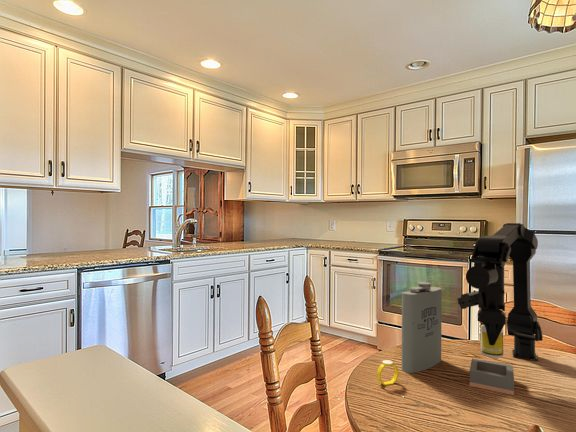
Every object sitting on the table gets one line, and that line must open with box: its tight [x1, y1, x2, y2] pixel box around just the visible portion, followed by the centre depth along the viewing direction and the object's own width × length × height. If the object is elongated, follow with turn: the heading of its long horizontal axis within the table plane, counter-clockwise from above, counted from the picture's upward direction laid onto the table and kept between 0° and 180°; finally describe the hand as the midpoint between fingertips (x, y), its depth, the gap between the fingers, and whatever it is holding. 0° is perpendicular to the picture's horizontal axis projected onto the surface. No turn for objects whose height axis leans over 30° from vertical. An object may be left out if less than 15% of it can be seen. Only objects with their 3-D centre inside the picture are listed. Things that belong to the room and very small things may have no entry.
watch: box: [376, 359, 399, 386], centre depth 97 cm, size 6×3×6 cm, turn 111°
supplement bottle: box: [479, 324, 504, 359], centre depth 99 cm, size 5×5×10 cm
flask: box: [400, 281, 443, 374], centre depth 110 cm, size 17×5×25 cm, turn 128°
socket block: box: [469, 357, 515, 396], centre depth 98 cm, size 10×10×4 cm
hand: (491, 341), depth 99 cm, fingers closed on supplement bottle, 5 cm apart
